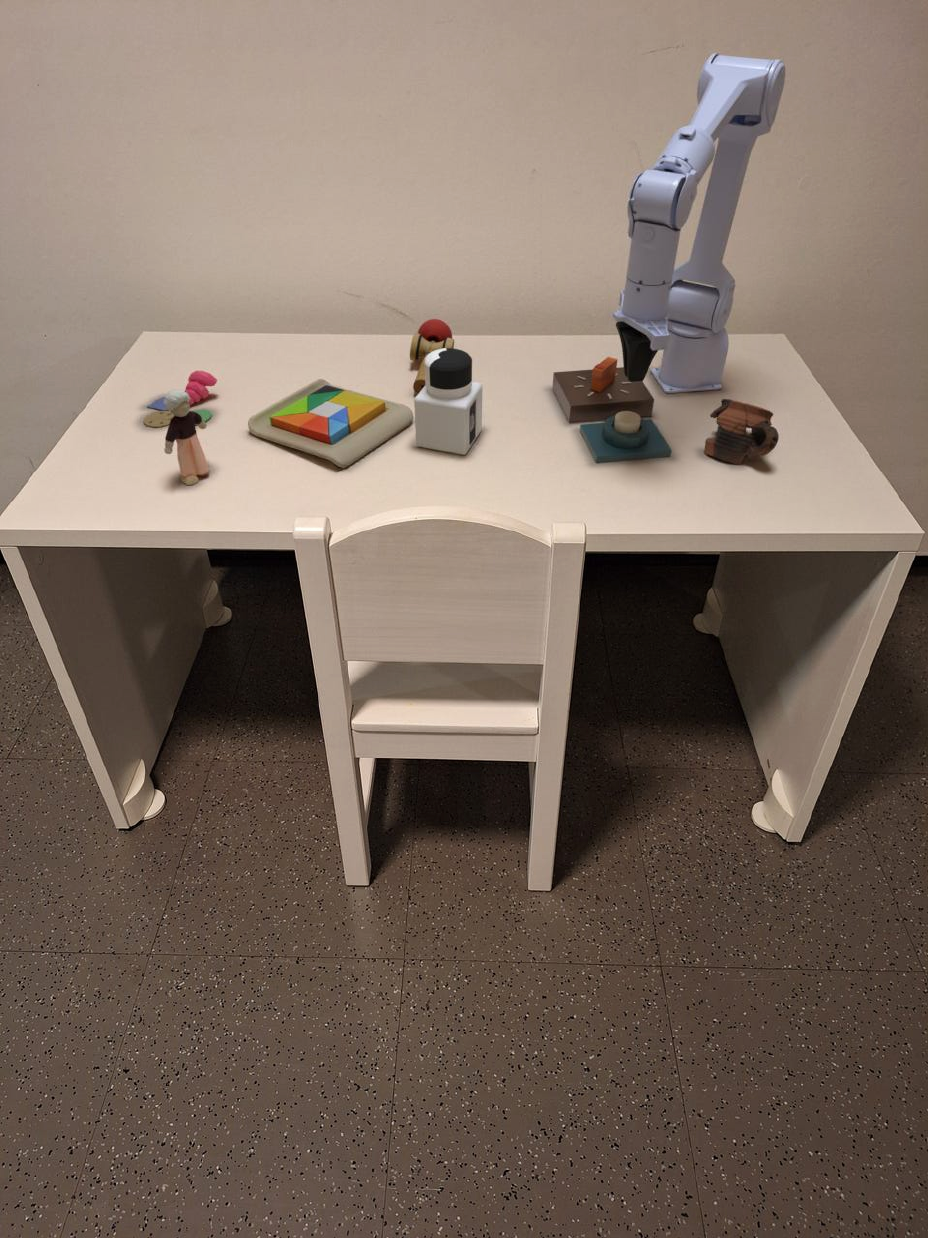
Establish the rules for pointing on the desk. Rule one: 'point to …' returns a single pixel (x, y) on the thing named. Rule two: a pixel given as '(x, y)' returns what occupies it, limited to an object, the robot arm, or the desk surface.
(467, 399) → the container
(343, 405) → the wooden puzzle
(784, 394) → the desk surface
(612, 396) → the dial board
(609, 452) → the button block
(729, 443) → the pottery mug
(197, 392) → the toy pieces
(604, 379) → the dial knob
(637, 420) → the button
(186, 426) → the grandmother figurine
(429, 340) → the kendama
